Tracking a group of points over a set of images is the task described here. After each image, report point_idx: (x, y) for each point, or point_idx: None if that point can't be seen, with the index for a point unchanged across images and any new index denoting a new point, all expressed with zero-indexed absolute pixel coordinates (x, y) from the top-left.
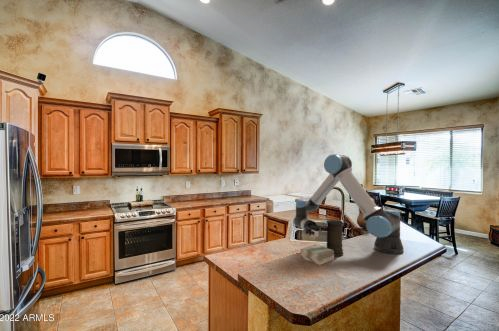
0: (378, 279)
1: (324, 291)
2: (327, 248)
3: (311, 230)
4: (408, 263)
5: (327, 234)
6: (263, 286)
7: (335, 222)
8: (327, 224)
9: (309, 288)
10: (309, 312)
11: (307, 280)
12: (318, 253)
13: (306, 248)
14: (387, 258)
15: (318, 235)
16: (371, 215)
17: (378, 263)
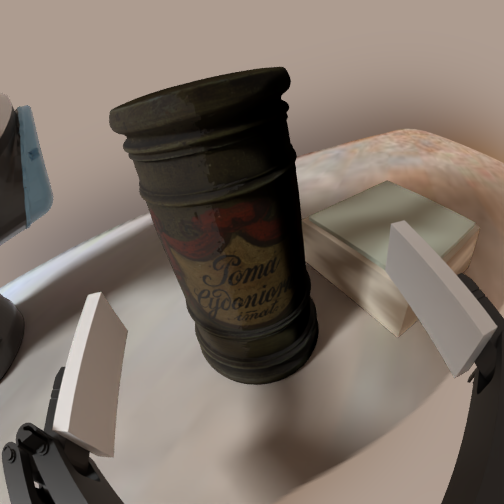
0: None
1: (380, 146)
2: (333, 229)
3: (491, 333)
4: (69, 250)
5: (300, 210)
6: (483, 156)
7: (219, 75)
8: (285, 105)
9: (407, 150)
10: (401, 129)
11: (415, 163)
12: (392, 184)
13: (455, 222)
14: (72, 279)
15: (391, 255)
16: (13, 109)
17: (143, 243)
